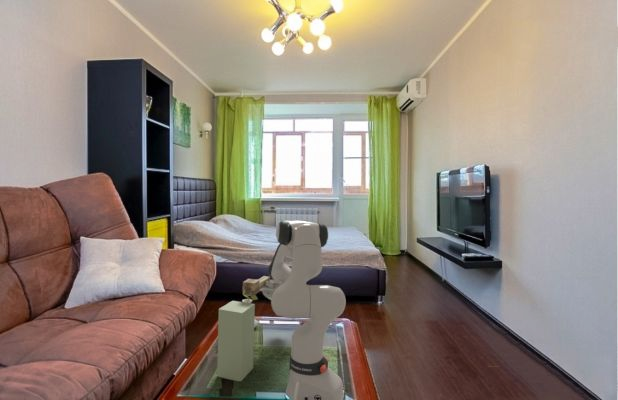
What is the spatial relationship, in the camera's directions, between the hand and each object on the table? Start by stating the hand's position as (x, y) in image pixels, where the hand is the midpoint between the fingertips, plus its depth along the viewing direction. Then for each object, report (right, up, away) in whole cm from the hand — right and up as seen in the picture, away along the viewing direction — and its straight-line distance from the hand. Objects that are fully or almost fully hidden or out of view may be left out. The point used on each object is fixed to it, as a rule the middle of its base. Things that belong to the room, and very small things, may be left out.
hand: (261, 281), depth 150 cm
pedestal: (-7, -31, -19) cm, 37 cm away
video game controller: (+19, -30, +21) cm, 41 cm away
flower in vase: (-10, -29, +22) cm, 38 cm away
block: (-1, -2, -3) cm, 4 cm away
